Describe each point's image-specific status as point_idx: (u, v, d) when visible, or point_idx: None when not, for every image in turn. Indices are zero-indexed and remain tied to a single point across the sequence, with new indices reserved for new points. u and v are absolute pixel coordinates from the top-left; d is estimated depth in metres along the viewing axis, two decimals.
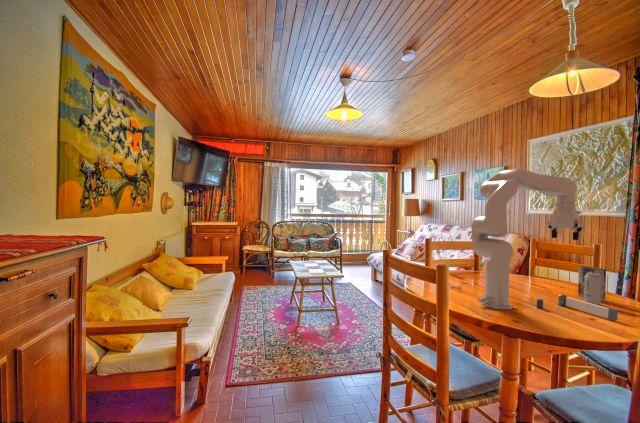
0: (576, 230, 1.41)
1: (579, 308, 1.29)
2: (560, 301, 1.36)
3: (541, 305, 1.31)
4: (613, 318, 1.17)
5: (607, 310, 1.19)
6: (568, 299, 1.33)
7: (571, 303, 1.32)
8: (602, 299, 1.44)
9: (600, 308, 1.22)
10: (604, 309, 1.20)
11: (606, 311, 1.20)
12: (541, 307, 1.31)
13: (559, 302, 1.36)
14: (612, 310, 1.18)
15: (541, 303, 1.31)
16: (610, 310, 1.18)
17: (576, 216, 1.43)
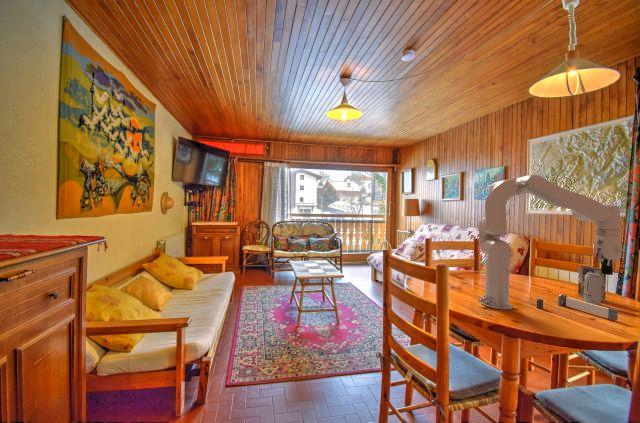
0: (613, 264, 1.25)
1: (579, 308, 1.29)
2: (560, 301, 1.36)
3: (541, 305, 1.31)
4: (613, 318, 1.17)
5: (607, 310, 1.19)
6: (568, 299, 1.33)
7: (571, 303, 1.32)
8: (602, 299, 1.44)
9: (600, 308, 1.22)
10: (604, 309, 1.20)
11: (606, 311, 1.20)
12: (541, 307, 1.31)
13: (559, 302, 1.36)
14: (612, 310, 1.18)
15: (541, 303, 1.31)
16: (610, 310, 1.18)
17: None
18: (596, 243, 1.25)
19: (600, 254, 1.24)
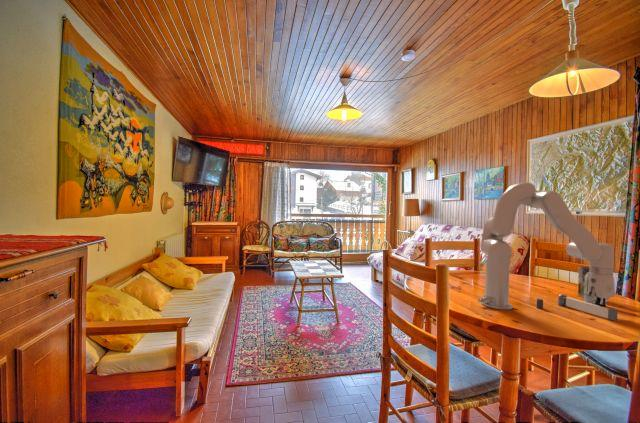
0: (606, 302, 1.24)
1: (579, 308, 1.29)
2: (560, 301, 1.36)
3: (541, 305, 1.31)
4: (613, 318, 1.17)
5: (607, 310, 1.19)
6: (568, 299, 1.33)
7: (571, 303, 1.32)
8: None
9: (600, 308, 1.22)
10: (604, 309, 1.20)
11: (606, 311, 1.20)
12: (541, 307, 1.31)
13: (559, 302, 1.36)
14: (612, 310, 1.17)
15: (541, 303, 1.31)
16: (610, 310, 1.18)
17: None
18: (589, 281, 1.25)
19: (593, 292, 1.23)
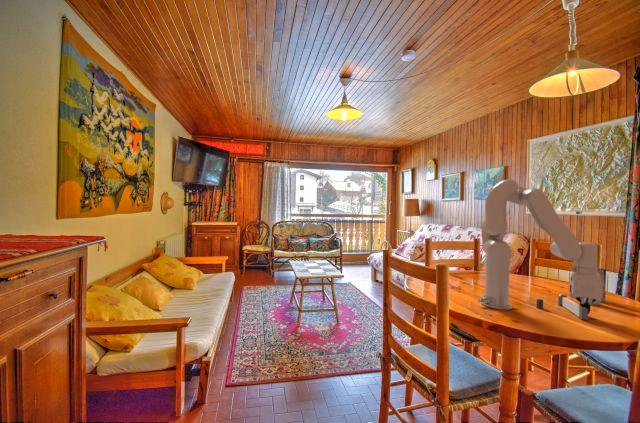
0: (591, 303, 1.21)
1: (567, 307, 1.30)
2: (560, 301, 1.36)
3: (541, 305, 1.31)
4: (581, 317, 1.18)
5: (579, 309, 1.20)
6: (563, 299, 1.34)
7: (564, 302, 1.33)
8: (602, 299, 1.44)
9: (576, 307, 1.22)
10: (578, 308, 1.21)
11: (578, 310, 1.20)
12: (541, 307, 1.31)
13: (559, 302, 1.36)
14: (580, 309, 1.19)
15: (541, 303, 1.31)
16: (580, 309, 1.19)
17: None
18: (570, 279, 1.26)
19: (571, 291, 1.25)
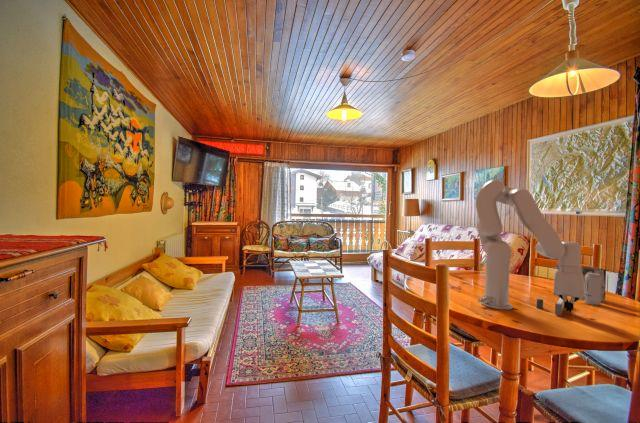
0: (573, 302, 1.23)
1: None
2: None
3: (541, 305, 1.31)
4: (555, 312, 1.23)
5: None
6: None
7: None
8: (602, 299, 1.44)
9: None
10: None
11: None
12: (541, 307, 1.31)
13: None
14: (555, 304, 1.23)
15: (541, 303, 1.31)
16: None
17: None
18: None
19: None
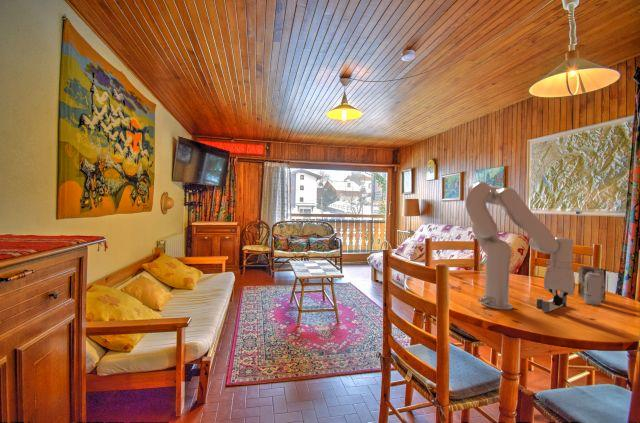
0: (562, 296, 1.25)
1: None
2: None
3: (541, 305, 1.31)
4: None
5: None
6: None
7: None
8: (602, 299, 1.44)
9: None
10: None
11: None
12: (541, 307, 1.31)
13: None
14: None
15: (541, 303, 1.31)
16: None
17: (574, 278, 1.23)
18: None
19: None
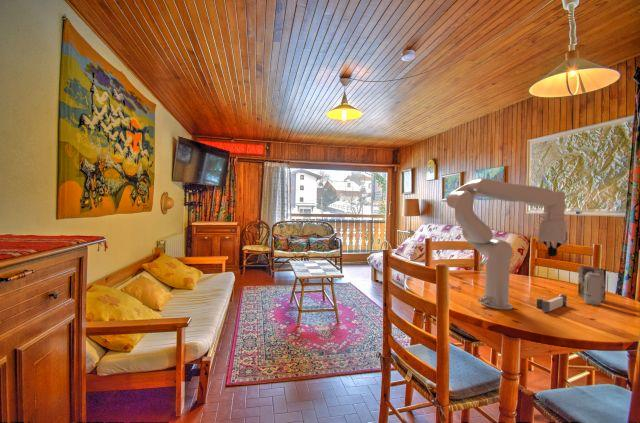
0: (555, 247, 1.31)
1: None
2: None
3: (541, 305, 1.31)
4: None
5: None
6: None
7: None
8: (602, 299, 1.44)
9: None
10: None
11: None
12: (541, 307, 1.31)
13: None
14: None
15: (541, 303, 1.31)
16: None
17: (566, 229, 1.29)
18: None
19: None
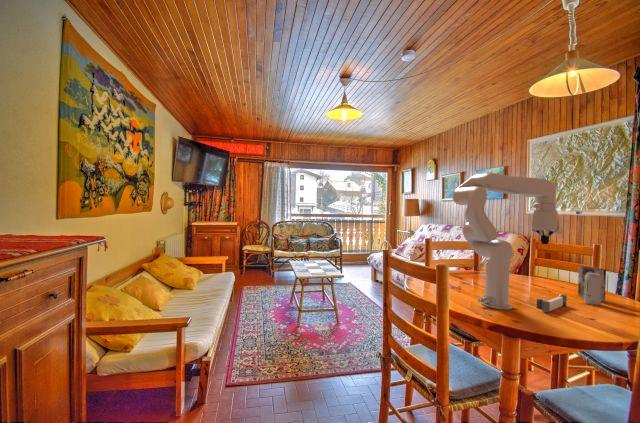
0: (548, 235, 1.38)
1: None
2: None
3: (541, 305, 1.31)
4: None
5: None
6: None
7: None
8: (602, 299, 1.44)
9: None
10: None
11: None
12: (541, 307, 1.31)
13: None
14: None
15: (541, 303, 1.31)
16: None
17: (558, 218, 1.36)
18: None
19: None
